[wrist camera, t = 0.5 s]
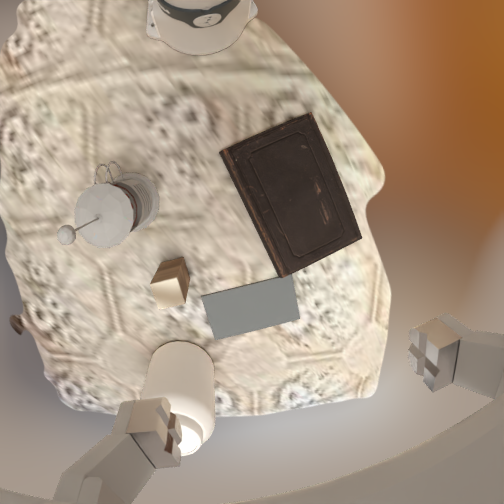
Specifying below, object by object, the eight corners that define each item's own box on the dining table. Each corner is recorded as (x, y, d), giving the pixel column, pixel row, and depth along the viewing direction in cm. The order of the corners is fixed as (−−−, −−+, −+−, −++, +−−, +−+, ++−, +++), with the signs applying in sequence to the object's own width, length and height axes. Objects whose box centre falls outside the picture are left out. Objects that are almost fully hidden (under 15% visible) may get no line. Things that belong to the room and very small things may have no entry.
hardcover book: (307, 114, 48) (311, 112, 46) (357, 235, 55) (362, 238, 53) (218, 152, 49) (219, 152, 46) (277, 274, 55) (280, 279, 53)
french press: (109, 236, 50) (36, 293, 26) (97, 168, 46) (10, 177, 22) (164, 226, 50) (121, 281, 26) (153, 156, 47) (96, 150, 23)
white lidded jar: (170, 396, 60) (160, 470, 40) (139, 350, 56) (115, 423, 37) (224, 378, 60) (230, 455, 40) (196, 330, 56) (191, 404, 37)
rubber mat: (201, 296, 54) (201, 296, 54) (291, 273, 55) (291, 274, 54) (215, 338, 57) (215, 340, 56) (299, 317, 57) (300, 318, 57)
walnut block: (161, 262, 52) (149, 284, 42) (183, 257, 52) (176, 277, 42) (168, 284, 53) (158, 309, 43) (190, 278, 53) (185, 303, 44)
